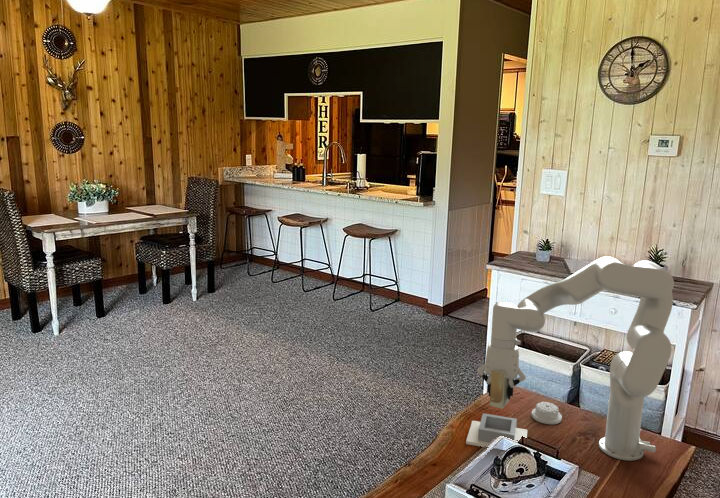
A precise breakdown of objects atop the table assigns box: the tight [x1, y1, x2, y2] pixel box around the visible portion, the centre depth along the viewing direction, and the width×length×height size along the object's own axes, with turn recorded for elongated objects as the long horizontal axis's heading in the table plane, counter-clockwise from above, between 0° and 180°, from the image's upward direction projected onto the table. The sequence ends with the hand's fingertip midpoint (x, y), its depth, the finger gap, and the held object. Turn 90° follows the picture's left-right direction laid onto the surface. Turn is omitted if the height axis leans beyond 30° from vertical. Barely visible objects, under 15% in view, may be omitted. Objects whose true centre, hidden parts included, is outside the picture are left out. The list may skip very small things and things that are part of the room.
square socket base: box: [465, 412, 528, 448], centre depth 180 cm, size 18×14×5 cm
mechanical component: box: [531, 401, 563, 425], centre depth 193 cm, size 10×4×10 cm
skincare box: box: [489, 370, 510, 410], centre depth 176 cm, size 6×4×12 cm
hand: (499, 395), depth 177 cm, fingers closed on skincare box, 5 cm apart
